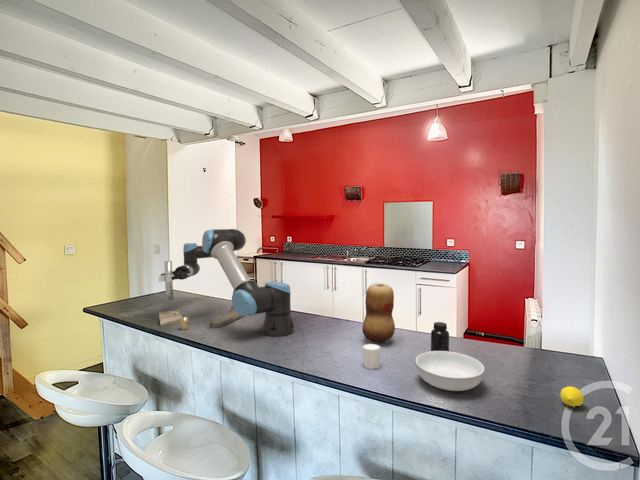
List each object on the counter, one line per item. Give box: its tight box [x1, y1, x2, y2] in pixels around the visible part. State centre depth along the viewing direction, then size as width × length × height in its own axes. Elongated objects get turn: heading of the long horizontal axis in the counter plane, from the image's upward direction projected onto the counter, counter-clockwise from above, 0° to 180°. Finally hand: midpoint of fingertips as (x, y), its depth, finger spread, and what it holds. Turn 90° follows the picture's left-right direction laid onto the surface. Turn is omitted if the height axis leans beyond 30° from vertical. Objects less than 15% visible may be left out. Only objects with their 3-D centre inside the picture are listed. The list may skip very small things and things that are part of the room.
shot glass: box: [361, 343, 382, 370], centre depth 131 cm, size 7×7×7 cm
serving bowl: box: [414, 350, 485, 392], centre depth 117 cm, size 21×21×7 cm
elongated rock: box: [209, 305, 245, 329], centre depth 194 cm, size 35×5×10 cm
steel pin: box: [164, 260, 174, 301], centre depth 189 cm, size 4×4×20 cm
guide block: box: [158, 309, 183, 327], centre depth 190 cm, size 14×10×4 cm
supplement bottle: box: [430, 321, 450, 352], centre depth 141 cm, size 7×7×12 cm
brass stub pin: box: [180, 315, 189, 332], centre depth 175 cm, size 4×4×6 cm
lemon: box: [559, 385, 585, 408], centre depth 102 cm, size 7×5×5 cm
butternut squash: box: [362, 282, 396, 344], centre depth 155 cm, size 14×13×25 cm
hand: (163, 279), depth 183 cm, fingers closed on steel pin, 3 cm apart
